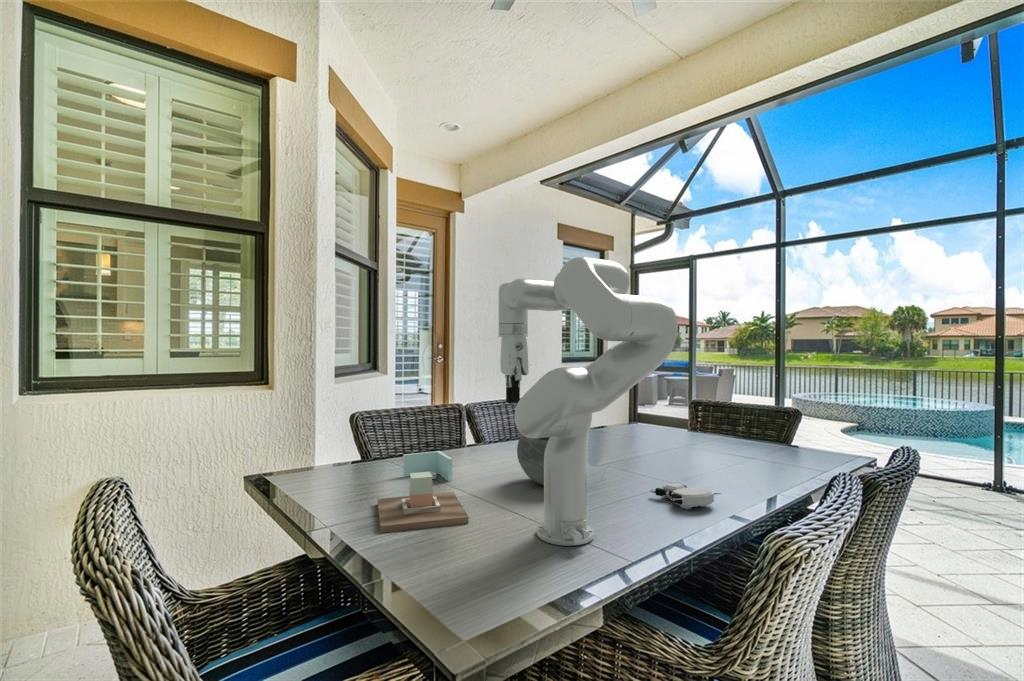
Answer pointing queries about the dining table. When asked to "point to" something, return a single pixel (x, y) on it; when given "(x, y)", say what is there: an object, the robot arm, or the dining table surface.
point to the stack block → (420, 489)
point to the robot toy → (686, 495)
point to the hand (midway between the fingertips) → (512, 402)
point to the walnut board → (420, 513)
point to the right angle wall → (428, 464)
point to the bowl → (532, 457)
